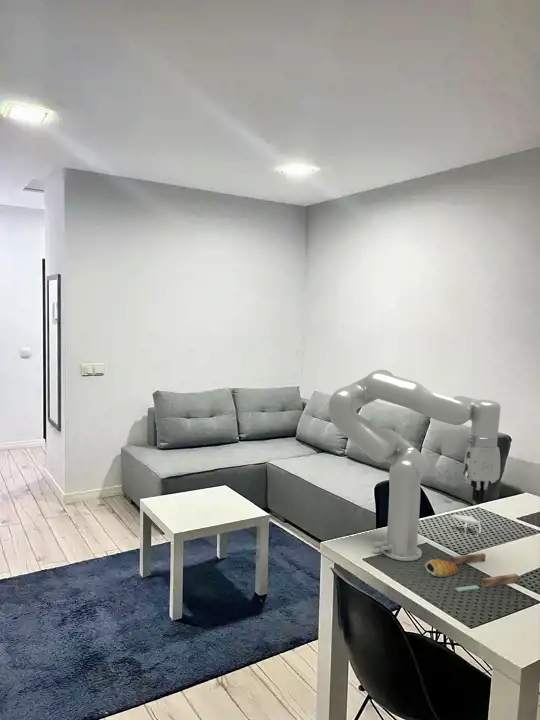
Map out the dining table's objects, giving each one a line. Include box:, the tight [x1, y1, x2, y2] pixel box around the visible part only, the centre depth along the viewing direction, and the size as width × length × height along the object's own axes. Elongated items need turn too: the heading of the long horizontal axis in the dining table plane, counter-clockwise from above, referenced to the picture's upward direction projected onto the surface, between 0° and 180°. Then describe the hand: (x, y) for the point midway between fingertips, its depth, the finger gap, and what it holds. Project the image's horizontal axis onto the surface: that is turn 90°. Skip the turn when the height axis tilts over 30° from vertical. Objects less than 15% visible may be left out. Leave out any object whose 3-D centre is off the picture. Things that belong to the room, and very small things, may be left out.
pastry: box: [424, 558, 459, 578], centre depth 168 cm, size 9×7×4 cm
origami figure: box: [447, 514, 482, 537], centre depth 201 cm, size 12×8×5 cm
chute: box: [449, 552, 520, 588], centre depth 168 cm, size 12×15×2 cm
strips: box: [424, 563, 480, 593], centre depth 165 cm, size 7×16×1 cm, turn 19°
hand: (477, 501), depth 170 cm, fingers closed
